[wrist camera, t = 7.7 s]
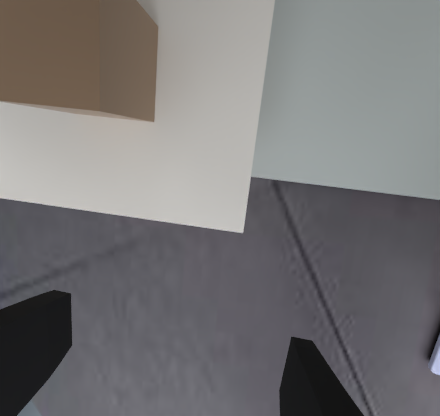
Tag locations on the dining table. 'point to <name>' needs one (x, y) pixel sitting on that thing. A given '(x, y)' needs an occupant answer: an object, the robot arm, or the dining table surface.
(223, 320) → the dining table surface
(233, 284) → the dining table surface
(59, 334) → the robot arm
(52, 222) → the dining table surface
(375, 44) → the mat
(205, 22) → the cover sheet
